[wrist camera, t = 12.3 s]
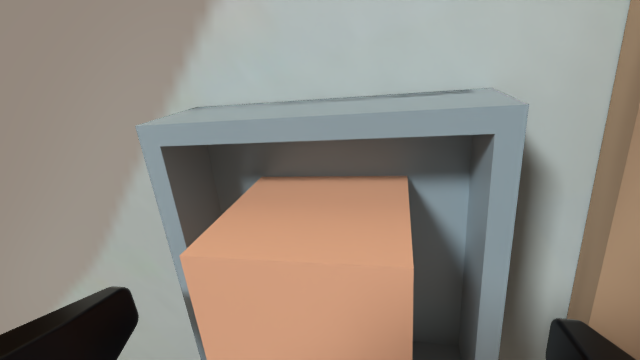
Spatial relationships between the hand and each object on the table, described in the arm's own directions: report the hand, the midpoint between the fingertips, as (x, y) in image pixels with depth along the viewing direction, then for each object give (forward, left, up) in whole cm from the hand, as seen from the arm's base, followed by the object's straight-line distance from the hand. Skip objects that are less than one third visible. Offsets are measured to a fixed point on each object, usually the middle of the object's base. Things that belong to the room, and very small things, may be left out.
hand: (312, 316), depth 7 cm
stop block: (0, 0, -3) cm, 3 cm away
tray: (0, 0, -4) cm, 4 cm away
